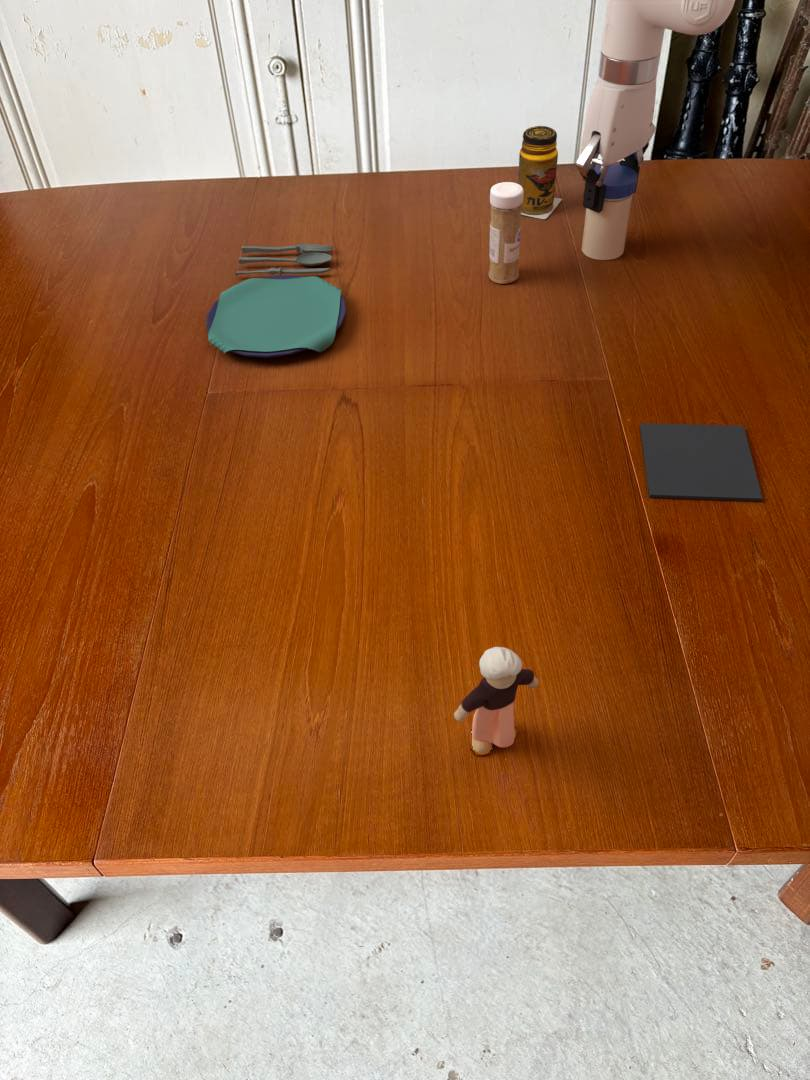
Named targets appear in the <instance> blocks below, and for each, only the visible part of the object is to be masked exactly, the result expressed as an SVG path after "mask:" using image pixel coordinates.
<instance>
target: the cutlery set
mask: <svg viewBox="0 0 810 1080" xmlns="http://www.w3.org/2000/svg"><path fill="white" fill-rule="evenodd" d="M241 251H242V254H248V253H282V252H289V251H290V252H291V251H295V252H296V253H299V254H300V255H298V256H295V257H294V258H285V257H283V258H282V257H265V256H261V257H259V256H257V257H255V256H254V257H253V256H251V257H250V256H239V257H238V260H237V261H238V263H239V265H241V264H250V263H268V262H270V263H271V262H272V263H298V264H300V265H302V266H307V267H314V266H319V265H323V264H325V263H327V262H329V261H331V260H332V257H333V255H331V254H328V253H329V252H333V251H334V244H330V245H329V244H328V245H326V244H325V245H323V244H310V243H309V244H308V243H305V242H301V243H298V242H297V243H295V245H285V246H260V245H259V246H258V245H242V246H241ZM330 271H331V268H330V267H322V268H321V267H319V268H291V269H289V268H288V269H283V268H282V266H279V268H275V267H270V268H267V269H259V270H251V271H250V270H244V271H243V270H235V273H234V274H235V277H237V276H238V275H249V274H268V275H272V276H266V277H251V278H247V279H245V280H243V281H241V282H239V283H237V284H235V285H233V286H231V287H228V288H227V289H226V290H223V291H222V292H221V293H220V294H219V298H218V299H217V300H216V301H215V302H214V303H213V304H212V306H211V308H210V309H209V311H208V312H207V314H206V323H205V328H206V329H205V330H206V331H207V333H208V336H207V339H208V342H209V343H210V345H211V346H214V347H215V348H216V349H218V350H219V351H220V352H222V353H223V354H226V353H227V352H231V353H234V354H236V355H240V356H243V357H252V358H267V359H268V358H277V357H283V356H289V355H290V356H291V355H294V354H297V353H300V352H303V351H306V350H313V351H316V352H318V353H323V352H324V351H326V350H327V349H328V348H330V347H331V346H332V344H333V343H334V341H335V337H336V332H337V330H339V329H340V328H341V326H342V325H343V322H344V320H345V317H346V314H347V307H346V300H345V298H344V297H343V295H342V289H340V288H339V287H338V286H335V285H334V284H332V283H329V281H326V280H325V279H323V278H321V277H319V276H315V275H313V276H312V275H311V274H324V273H328V272H330ZM305 275H311V276H305ZM322 351H323V352H322Z"/></svg>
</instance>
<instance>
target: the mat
mask: <svg viewBox="0 0 810 1080" xmlns="http://www.w3.org/2000/svg"><path fill="white" fill-rule="evenodd" d="M639 432H640V439H641V446H642V447H641V448H642V453H643V462H644V470H645V477H646V485H647V493H648V498H650V499H652V498H653V499H675V500H677V499H679V500H680V499H681V500H704V501H705V500H706V501H707V500H708V501H713V500H714V501H731V502H732V501H733V502H734V501H735V502H762V501H763V499H764V498H763V495H762V491H761V487H760V483H759V479H758V475H757V471H756V467H755V463H754V460H753V456H752V453H751V448H750V445H749V441H748V437H747V433H746V429H745V426H744V425H728V424H727V425H724V424H723V425H722V424H720V425H719V424H684V423H683V424H681V423H650V422H649V423H648V422H647V423H644V422H641V423H639Z"/></svg>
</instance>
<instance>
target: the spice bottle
mask: <svg viewBox="0 0 810 1080" xmlns="http://www.w3.org/2000/svg"><path fill="white" fill-rule="evenodd" d="M523 192H524V191H523V188H522V186H521V185H519V184H518V182H512V181H503V182H499V183H496V184H494V185H492V186H491V188H490V191H489V203H490V222H489V250H488V251H489V252H488V253H489V271H488V278H489V279H490V281H492V282H493V283H495V284H501V285H505V284H507V285H508V284H510V283H513V282H515V281H516V280H517V279H518V278H519V275H520V271H519V262H520V261H519V260H520V259H519V258H520V249H521V229H522V228H521V223H522V222H521V221H522V215H521V206H522V203H523Z"/></svg>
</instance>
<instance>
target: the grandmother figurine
mask: <svg viewBox="0 0 810 1080" xmlns="http://www.w3.org/2000/svg"><path fill="white" fill-rule="evenodd" d="M478 662H479V663H478V665H479V671H480V674H481V676H482V679H480V681H479V684H478V685H477V686H475V688H473V689H472V690H471V691H470V692H469V693H468V694H467V696H465V697H464V698H463V699H462V700H461V703H460V704H459V706H458V707H457V709H456V710H455V711H454V713H453V717H454V719H455V721H457V722H464V721H465V720H466V719H467V717H468V716H469V715H470V713H471V712H473V711H475V712H474V714H473V718H472V724H471V729H472V731H471V733H472V746H473V750H475V751H476V752H478V753H485V752H486V751H487V752H488V751H489V750H490V748H491V744H492V745H495V746H496V747H498V748H503V749H504V748H508V747H511V746H512V745H513V744H514V743H515V740H514V734H515V730H514V728H515V718H514V716H515V715H514V713H515V711H514V708H515V707H514V706H515V702H516V697H517V691H518V687H519V686H526V687H528V688H529V689H533V690H534V689H536V688H537V687H538V686H539V679H538V678H537V677H536V676H535V672H534V671H533V670H532V669H530V668H523V662H522V659H521V658H520V656H519V655H518V654H517V653H516V652H514V651H513V650H511V649H510V648H507V647H505V646H504V647H502V646H493V647H490V648H488V649H486V650H485V651H484V653H483V654H482V655H481V657H480V659H479V661H478Z"/></svg>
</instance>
